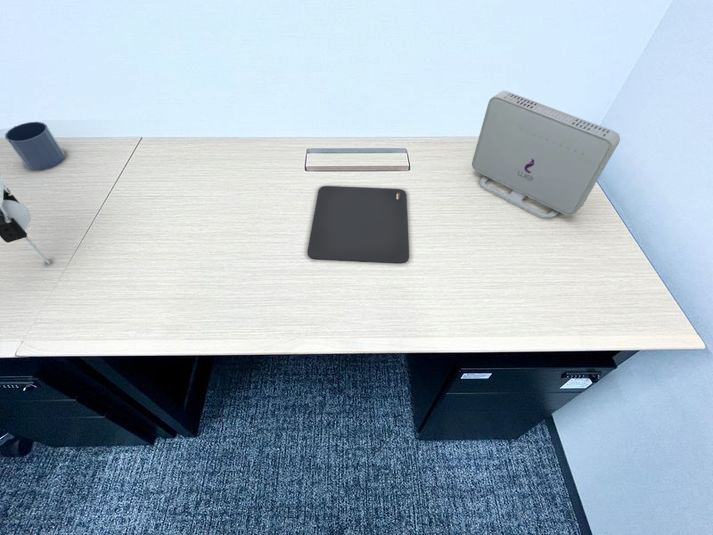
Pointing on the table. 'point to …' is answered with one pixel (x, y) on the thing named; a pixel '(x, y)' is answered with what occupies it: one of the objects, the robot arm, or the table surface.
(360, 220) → the mouse pad
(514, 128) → the network device
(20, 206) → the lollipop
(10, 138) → the cup
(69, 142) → the table surface
